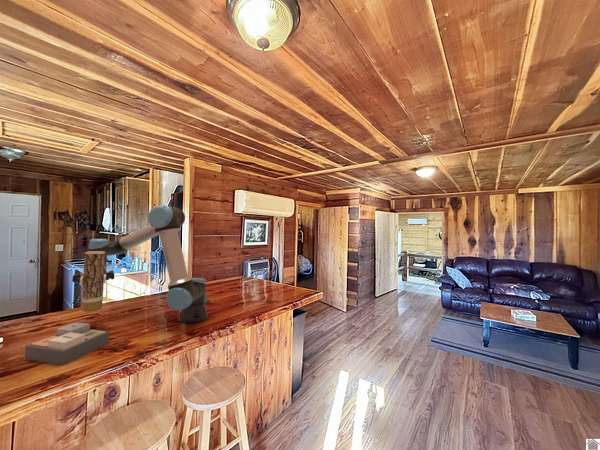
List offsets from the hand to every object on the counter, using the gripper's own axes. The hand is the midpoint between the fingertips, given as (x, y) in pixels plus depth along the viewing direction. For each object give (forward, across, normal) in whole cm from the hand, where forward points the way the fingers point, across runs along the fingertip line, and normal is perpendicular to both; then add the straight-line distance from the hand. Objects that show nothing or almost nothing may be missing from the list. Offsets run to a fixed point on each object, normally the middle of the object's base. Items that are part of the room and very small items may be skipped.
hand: (93, 280), depth 101 cm
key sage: (-4, 0, -26) cm, 27 cm away
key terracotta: (-5, +12, -26) cm, 30 cm away
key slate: (-10, +6, -24) cm, 27 cm away
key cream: (+2, +7, -24) cm, 25 cm away
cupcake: (-42, -58, -29) cm, 77 cm away
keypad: (-4, +6, -29) cm, 30 cm away
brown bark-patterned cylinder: (-5, 0, -14) cm, 15 cm away
